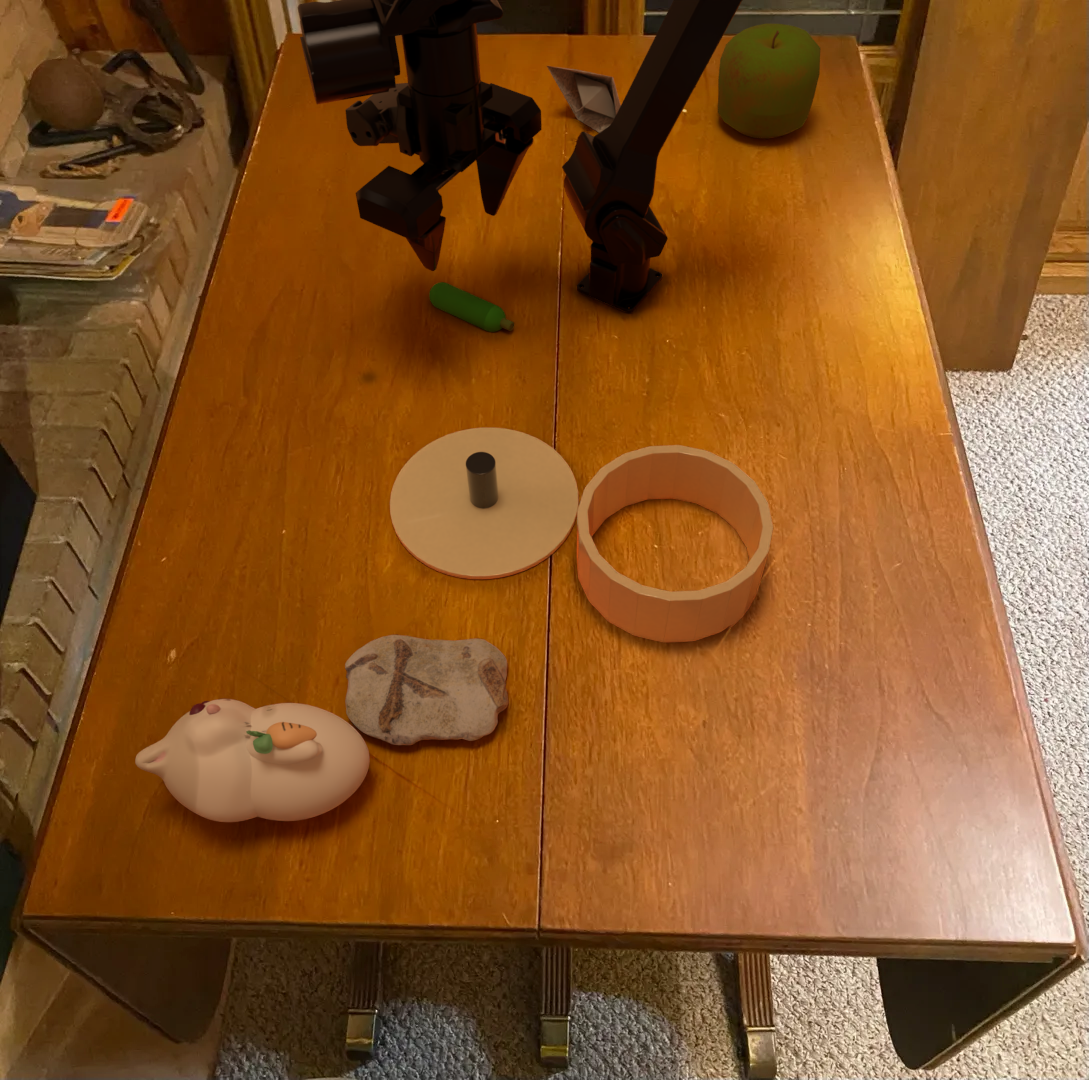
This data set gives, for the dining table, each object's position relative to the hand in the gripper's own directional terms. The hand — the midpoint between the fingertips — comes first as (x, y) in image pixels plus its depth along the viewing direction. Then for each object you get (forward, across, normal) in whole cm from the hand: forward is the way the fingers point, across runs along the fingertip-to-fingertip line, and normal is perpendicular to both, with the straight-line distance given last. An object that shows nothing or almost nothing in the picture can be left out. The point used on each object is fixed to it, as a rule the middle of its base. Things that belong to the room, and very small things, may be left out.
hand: (461, 240), depth 92 cm
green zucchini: (+9, 0, 0) cm, 9 cm away
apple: (+10, -45, +9) cm, 47 cm away
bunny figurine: (+9, +46, +16) cm, 50 cm away
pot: (+9, +15, +31) cm, 36 cm away
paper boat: (+9, -34, -8) cm, 36 cm away
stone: (+9, +35, +22) cm, 42 cm away
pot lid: (+8, +18, +15) cm, 25 cm away
